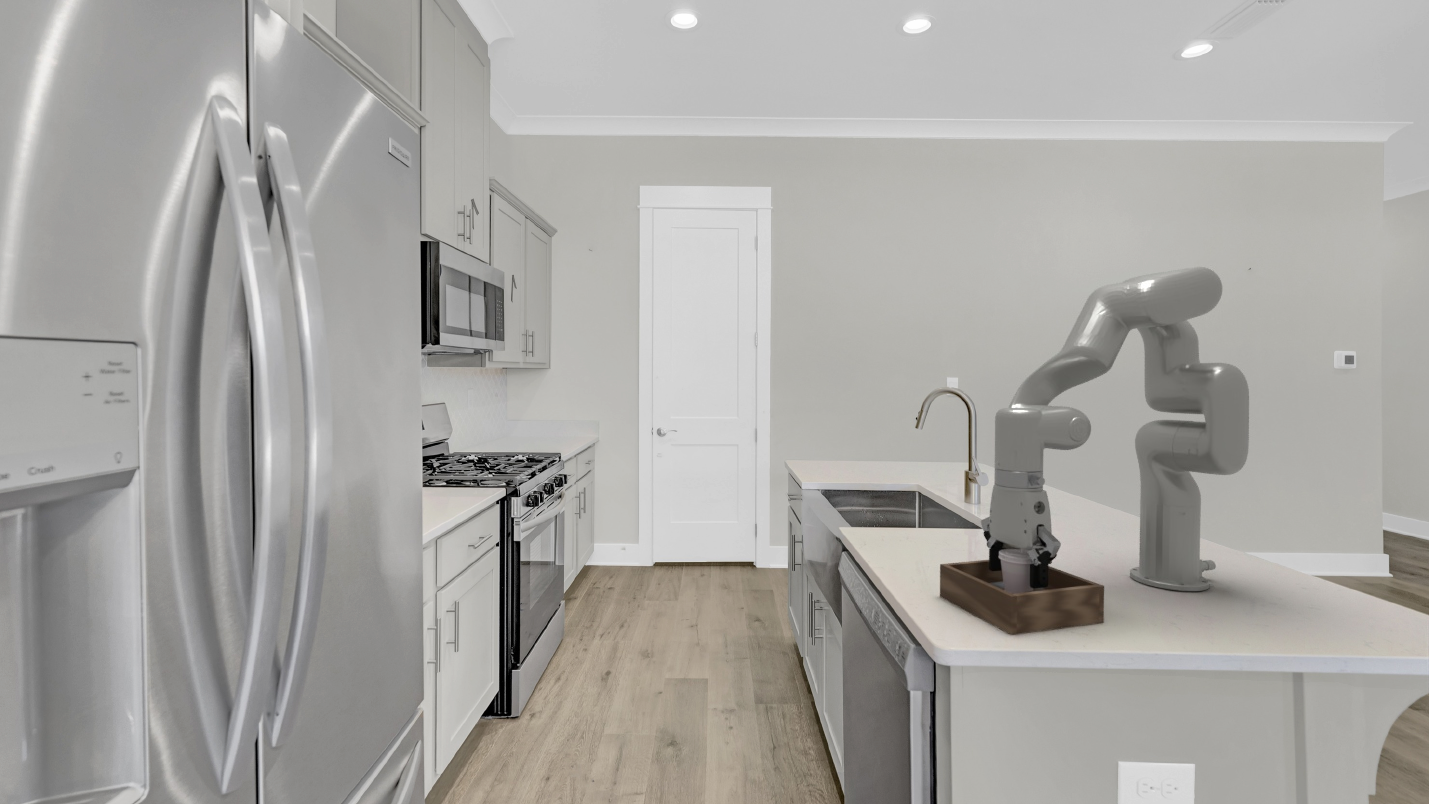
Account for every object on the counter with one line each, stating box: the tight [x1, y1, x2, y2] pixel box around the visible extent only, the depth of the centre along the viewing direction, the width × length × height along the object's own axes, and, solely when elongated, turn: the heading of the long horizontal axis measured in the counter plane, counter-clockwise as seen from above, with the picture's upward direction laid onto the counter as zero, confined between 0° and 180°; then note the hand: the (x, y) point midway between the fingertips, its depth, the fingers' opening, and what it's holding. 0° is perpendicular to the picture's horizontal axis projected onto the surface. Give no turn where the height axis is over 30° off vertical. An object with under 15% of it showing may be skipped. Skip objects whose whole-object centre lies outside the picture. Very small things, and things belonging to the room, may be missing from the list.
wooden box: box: [939, 559, 1105, 636], centre depth 108 cm, size 18×18×6 cm
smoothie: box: [998, 549, 1039, 594], centre depth 108 cm, size 6×6×14 cm
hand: (1017, 578), depth 108 cm, fingers open, 9 cm apart
